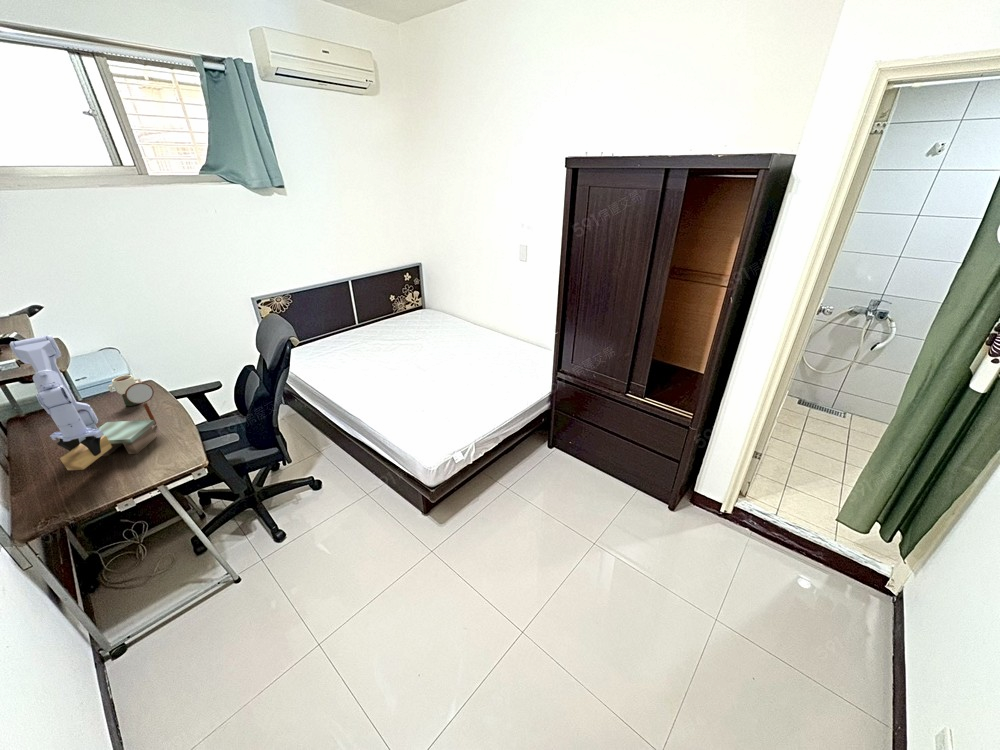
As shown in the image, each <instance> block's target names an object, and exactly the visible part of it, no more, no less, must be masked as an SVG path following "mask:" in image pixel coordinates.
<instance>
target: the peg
mask: <svg viewBox="0 0 1000 750" xmlns="http://www.w3.org/2000/svg"><path fill="white" fill-rule="evenodd" d="M111 448H112V446H111V444H110V442H109V440H108V439H107V437H106V436H101V439H100V449H101V453H100V454H98V455H97V456H94V455H93V454H92V453H91V452H90V450H89V449H88V448H87V447H86V446H85V445H83V444H79V445H78V446H77V447H75V448H74V449H72V450H71V451H68V452H67V453H65V454H64V455H63V456H61V457H60V458H59V460H60V461H61V462H62V464H63V465H64V467H65V468H66V470H67V471H79V470H81V471H83V470H85V469H87V468H88V467H89V466H90V465H92V464H93V463H94V462H95V461H96V460H98V459H99V458H100V457H103V456H102V455H103V454H104V453H105V452H107V451H108V450H109V449H111Z"/></svg>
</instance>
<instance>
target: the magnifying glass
mask: <svg viewBox="0 0 1000 750" xmlns="http://www.w3.org/2000/svg"><path fill="white" fill-rule="evenodd" d="M154 393H155V391H154V388H153V386H151V385H150V384H149V383H147V382H142V383H139V382H136V383H135V384H133V385H131V386H129V387H128V388H127V390H126V392H125V397H126V399H127V400H128V401H129V402H131V403H135V404H136V405H141V404H142V405H143V408H144V410H145V411H146V415H148V417H149V420H154V421H155V424H154V425H153V426H154V427H157V421H156V420H155V417H154V416H153V413H152V412H151V409H150V407H149V405H148V403H147V402H148V401H150V400H152V398H153V396H154Z"/></svg>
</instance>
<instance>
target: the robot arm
mask: <svg viewBox="0 0 1000 750" xmlns="http://www.w3.org/2000/svg"><path fill="white" fill-rule="evenodd" d="M9 347H10V349H11V350H12V353H13V354H14V356H15V357H16V358H17V359H18V360H19V361H21V362H22V363H24V364H25V365H31V367H32V368H33V370H34V372H35V373H34V374H33V376H32V380H33V383H34V386H35V389H36V391H37V393H38V394H37V393H36V395H35V396H36V399H37V401H38V403H39V405H40V406H41V407H42V408H43V409H44V410H45V411H46V413H47V415H50V417H51V419H52V420H53V422H54V423H55V425H56V427H57V428H58V430H59V431H54V432H53V433H51V434H50V435H49V437H50V438H51V440H52V441H57V440H59V441H58V442H57V443H56V444H57V445H58V446H59V447H61V448H64V449H66V450H67V451H68V452H70V451H71V450H72V449H74V448H75V447H77V446H78V445H79V444H80V443H81V444H83V445H85V446H86V447H87V448H88V449H89V450H90V452H91V453H92V454H93V455H94V456H97V455H98V454H100V453H101V449H100V439H101V436H102V435H104V434H103V432H102V430H96V429H98V428H99V427H97V425H96V424H98V423H99V419H98V417H97V414H96V413H95V411H94V409H93V408H92V407H91V405H90V404H89V403H86V402H79V401H77V400H76V399H75V397H74V394H73V392H72V390H71V389H70V387H69V385H68V383H67V382H66V380H65V378H64V376H63V373H62V372H61V371H60V369H59V366H58V365H57V359H59V358H60V357H62V352H61V350H60V349H59V345H58V344H57V342H56V340H55V339H54V337H53V336H52V335H50V334H46V335H43V336H36V337H31V338H27V339H26V338H25V339H22V340H21V339H20V340H16V341H15V340H14V341H10V343H9ZM84 438H86V439H84ZM82 439H84V440H83V441H81V440H82ZM79 441H81V442H80V443H79Z"/></svg>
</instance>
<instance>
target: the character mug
mask: <svg viewBox="0 0 1000 750" xmlns="http://www.w3.org/2000/svg"><path fill="white" fill-rule="evenodd" d="M136 381H137V382H136ZM111 383H112V384H110V385H107V387H108V389H109V392H110V393H114V392H116V393H118V394H119V395H121V397H122V400H123V403H124V405H125V406H127V407H129V406H136V405H137V404H135V403H131V402H129V401H128V400H127V399H126V397H125V392H126V390H127V388H128V387H129V386H131V385H133V384H135V383H143V382H142V380H141V378H138V377H137V378H134V376H133V375H132V374H123V375H120V376H117V377H114V378H113V379H112V380H111ZM113 387H114V389H113Z"/></svg>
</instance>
